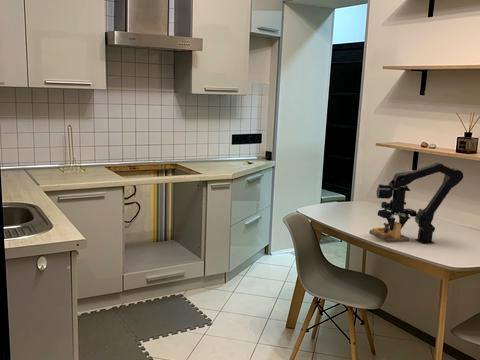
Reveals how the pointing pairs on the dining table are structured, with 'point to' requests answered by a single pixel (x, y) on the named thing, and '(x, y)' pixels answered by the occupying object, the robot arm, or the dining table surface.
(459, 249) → the dining table surface
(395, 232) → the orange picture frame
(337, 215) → the dining table surface
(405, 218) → the robot arm
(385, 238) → the hook plate
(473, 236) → the dining table surface
